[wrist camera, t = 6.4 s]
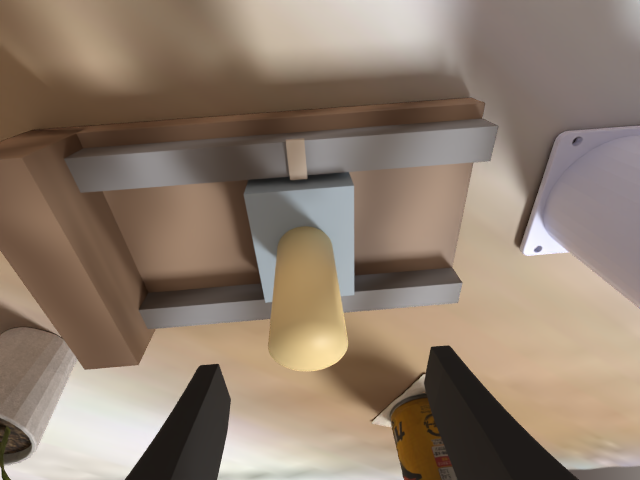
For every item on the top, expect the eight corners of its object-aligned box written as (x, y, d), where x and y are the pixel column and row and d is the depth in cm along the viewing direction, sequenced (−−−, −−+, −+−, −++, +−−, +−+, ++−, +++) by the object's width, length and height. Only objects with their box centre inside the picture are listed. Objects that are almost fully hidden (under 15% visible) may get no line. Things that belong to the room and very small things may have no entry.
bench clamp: (470, 97, 17) (530, 119, 12) (438, 280, 23) (470, 336, 19) (32, 129, 16) (-61, 163, 12) (124, 306, 23) (84, 369, 18)
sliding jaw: (348, 170, 16) (383, 265, 10) (349, 272, 20) (376, 395, 13) (249, 177, 16) (215, 279, 10) (268, 279, 20) (253, 406, 13)
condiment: (370, 421, 32) (404, 596, 22) (423, 372, 29) (492, 556, 19) (428, 435, 35) (481, 601, 24) (483, 391, 31) (574, 566, 21)
